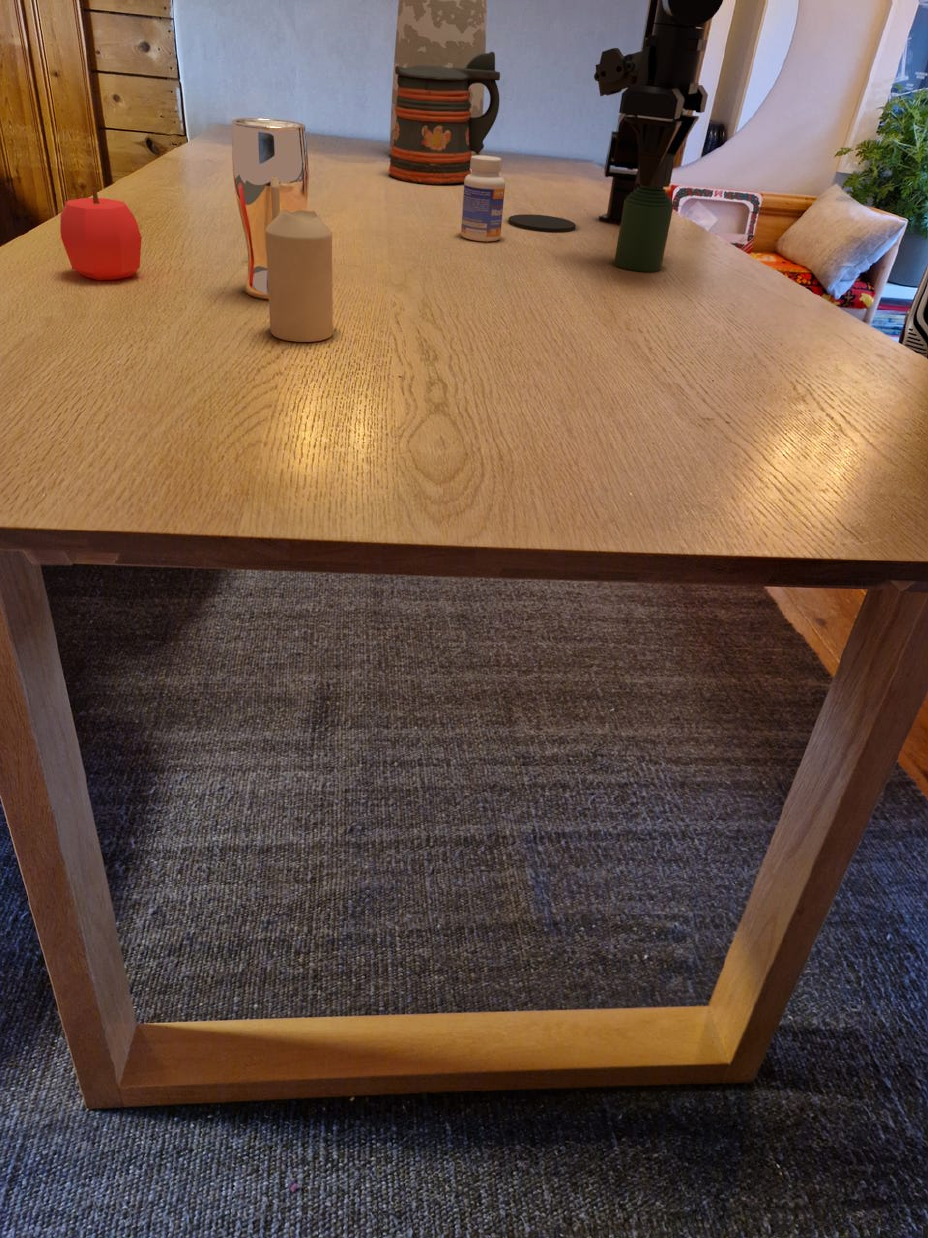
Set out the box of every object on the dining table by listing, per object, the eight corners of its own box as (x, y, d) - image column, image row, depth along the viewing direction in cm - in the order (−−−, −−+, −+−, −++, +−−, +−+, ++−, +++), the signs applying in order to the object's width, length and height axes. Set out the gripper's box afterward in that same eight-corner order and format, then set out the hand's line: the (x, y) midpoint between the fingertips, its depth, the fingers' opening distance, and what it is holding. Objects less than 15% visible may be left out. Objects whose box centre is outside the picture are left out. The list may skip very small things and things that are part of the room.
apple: (125, 261, 92) (114, 179, 88) (163, 279, 88) (153, 193, 83) (50, 269, 88) (34, 182, 83) (86, 288, 83) (71, 197, 79)
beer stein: (478, 174, 165) (488, 49, 154) (503, 187, 154) (515, 54, 143) (381, 169, 160) (384, 40, 149) (399, 183, 149) (404, 44, 137)
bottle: (623, 257, 114) (640, 155, 107) (666, 266, 112) (687, 162, 105) (607, 265, 109) (624, 159, 102) (652, 274, 107) (673, 166, 100)
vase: (479, 169, 170) (499, -78, 149) (385, 161, 170) (391, -89, 148) (479, 156, 187) (497, -68, 165) (393, 148, 186) (400, -78, 165)
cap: (660, 181, 107) (666, 151, 105) (675, 187, 104) (681, 156, 102) (630, 180, 106) (635, 149, 104) (643, 186, 103) (649, 154, 101)
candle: (305, 346, 74) (301, 221, 68) (257, 332, 76) (249, 209, 71) (345, 333, 78) (345, 213, 72) (298, 320, 80) (294, 202, 75)
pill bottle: (496, 244, 115) (504, 161, 109) (456, 238, 115) (462, 157, 110) (503, 236, 119) (510, 157, 113) (464, 231, 120) (470, 152, 114)
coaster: (525, 214, 134) (526, 211, 134) (585, 225, 130) (585, 222, 130) (496, 223, 126) (497, 219, 126) (559, 235, 123) (559, 231, 123)
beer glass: (252, 303, 83) (241, 125, 75) (233, 284, 88) (220, 116, 80) (321, 299, 86) (318, 128, 78) (298, 281, 91) (293, 118, 83)
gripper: (630, 22, 105) (608, 165, 114) (586, 16, 91) (564, 180, 100) (721, 30, 102) (691, 177, 111) (690, 26, 88) (659, 194, 97)
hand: (651, 181), depth 105 cm, fingers open, 7 cm apart
